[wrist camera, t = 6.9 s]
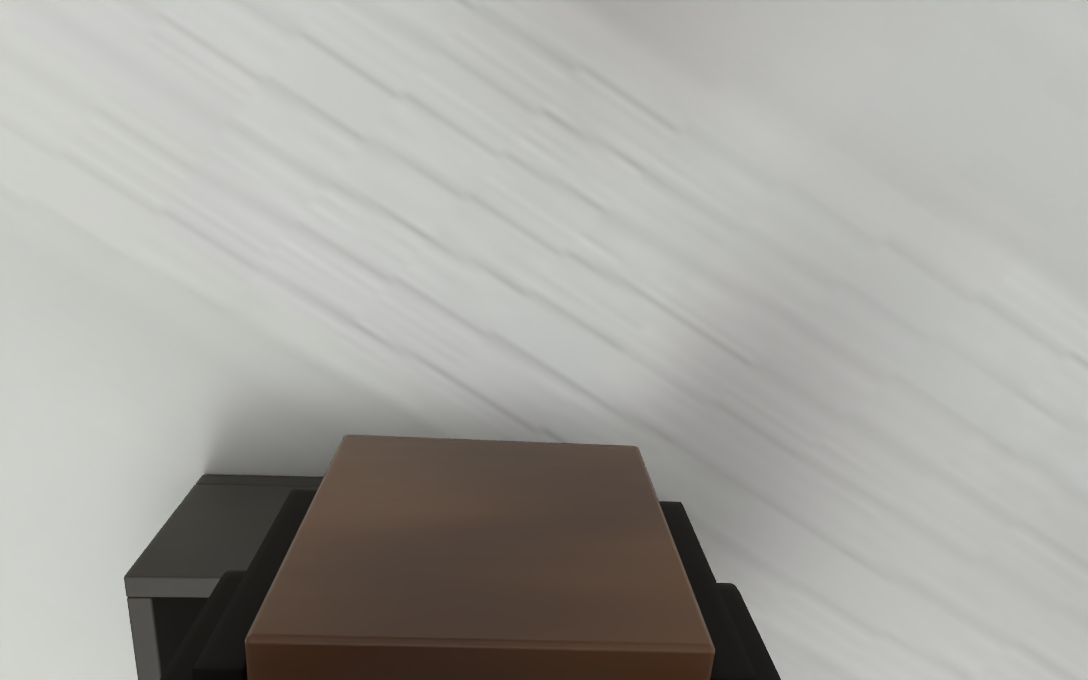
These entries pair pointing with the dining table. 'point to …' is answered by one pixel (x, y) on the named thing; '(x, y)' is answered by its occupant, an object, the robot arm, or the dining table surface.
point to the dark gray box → (198, 558)
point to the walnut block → (481, 569)
